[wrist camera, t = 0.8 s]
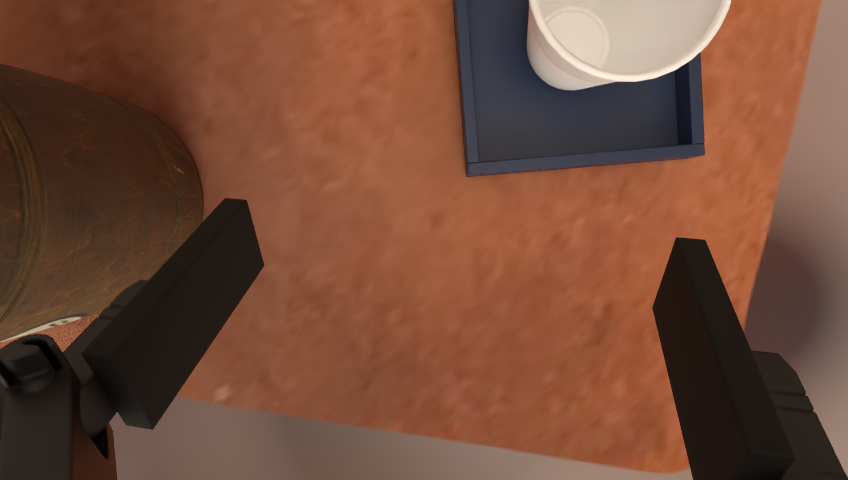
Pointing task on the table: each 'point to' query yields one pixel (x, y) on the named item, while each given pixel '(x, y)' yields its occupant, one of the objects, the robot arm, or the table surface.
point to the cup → (617, 38)
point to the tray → (561, 104)
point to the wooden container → (83, 200)
